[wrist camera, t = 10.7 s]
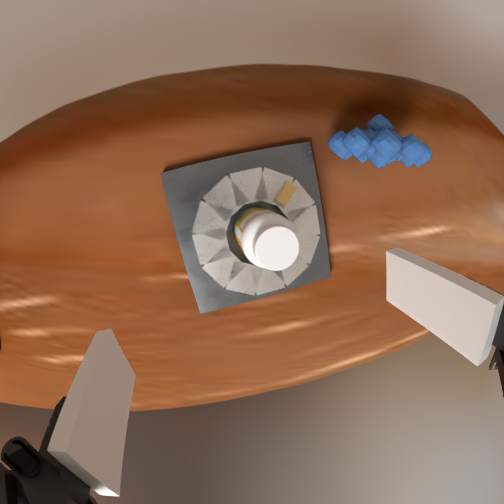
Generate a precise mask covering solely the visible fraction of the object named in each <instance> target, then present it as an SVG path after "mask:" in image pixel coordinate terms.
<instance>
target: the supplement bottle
mask: <svg viewBox="0 0 504 504" xmlns="http://www.w3.org/2000/svg"><path fill="white" fill-rule="evenodd" d="M234 234H235V237H236V240H237V242H238V243H239V245H240V247H241V249H242V250H243V252H244V254H245V256H246V257H247V258H248V259H249V261H251V262H252V263H253V264H254V265H256V266H258V267H262V268H266V269H269V270H273V271H279V270H283V269H285V268H287V267H289V266H290V265H291V264H292V263H293V262H294V261H295V260H296V258H297V256H298V253H299V241H298V238H297V235H296V231H295V229H294V227H293V225H292V224H291V222H290V221H289V220H288V219H286V218H285V217H283V216H281V215H279V214H277V213H275V212H273V211H271V210H268V209H266V208H263V207H251V208H248V209H246V210H245V211H243V212H242V213H241V214H240V215H239V216H238V218H237V220H236V222H235V226H234Z"/></svg>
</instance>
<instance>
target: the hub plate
mask: <svg viewBox="0 0 504 504" xmlns="http://www.w3.org/2000/svg"><path fill="white" fill-rule="evenodd" d="M161 178H162V182H163V186H164V190H165V194H166V198H167V202H168V206H169V210H170V214H171V217H172V221H173V225H174V228H175V232H176V236H177V239H178V243H179V246H180V250H181V253H182V257H183V260H184V263H185V267H186V270H187V273H188V276H189V280H190V283H191V286H192V289H193V292H194V295H195V298H196V301H197V304H198V307H199V310H200V313H201V314H203V313H207V312H210V311H214V310H218V309H222V308H226V307H230V306H233V305H237V304H241V303H245V302H248V301H252V300H255V299H259V298H263V297H266V296H270V295H273V294H277V293H280V292H283V291H287V290H290V289H294V288H297V287H300V286H304V285H307V284H310V283H314V282H317V281H320V280H323V279H326V278H330V277H331V271H330V263H329V254H328V246H327V239H326V231H325V224H324V217H323V211H322V204H321V198H320V192H319V186H318V181H317V175H316V170H315V164H314V159H313V154H312V149H311V144H310V142H304V143H297V144H291V145H284V146H278V147H272V148H267V149H261V150H256V151H251V152H246V153H241V154H236V155H231V156H227V157H222V158H218V159H213V160H209V161H205V162H201V163H197V164H193V165H189V166H185V167H181V168H178V169H174V170H170V171H167V172H163V173H161ZM251 207H263V208H266V209H268V210H271V211H273V212H275V213H277V214H279V215H281V216H283V217H285V218H286V219H288V220H289V221H290V222H291V224H292V225H293V227H294V229H295V231H296V235H297V238H298V241H299V253H298V256H297V258H296V260H295V261H294V262H293V263H292V264H291V265H290V266H289V267H287V268H285V269H283V270H279V271H273V270H269V269H266V268H262V267H258V266H256V265H254V264H253V263H252V262H251V261H249V259H248V258H247V257H246V256H245V254H244V252H243V250H242V249H241V247H240V245H239V243H238V242H237V240H236V237H235V234H234V226H235V222H236V220H237V218H238V216H239V215H240V214H241V213H242V212H243V211H245V210H246V209H248V208H251Z"/></svg>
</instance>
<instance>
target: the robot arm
mask: <svg viewBox="0 0 504 504" xmlns="http://www.w3.org/2000/svg"><path fill="white" fill-rule="evenodd" d="M386 263H387V299H386V300H387V301H388V302H390V303H391V304H393V305H394V306H396V307H397V308H398V309H400V310H401V311H403V312H404V313H406V314H407V315H408V316H410V317H411V318H413V319H414V320H415V321H417V322H418V323H420V324H421V325H422V326H424V327H425V328H427V329H428V330H429V331H431V332H432V333H433V334H435V335H436V336H438V337H439V338H440V339H442V340H443V341H445V342H446V343H447V344H449V345H450V346H451V347H453V348H454V349H455V350H457V351H458V352H459V353H461V354H462V355H463V356H465V357H466V358H467V359H469V360H470V361H471V362H473V363H474V364H475V365H477V366H478V365H480V364H481V363H482V362H483V361H484V360H485V359H486V358H487V357H488V355H489V352H490V349H491V346H492V345H494V346H495V347H496V350H495V352H494V355H493V358H492V360H491V363H490V366H489V370H492V367H493V365H494V362H496V366H495V369H498V371H499V376H500V380H501V385H502V390H503V396H504V295H503V294H501V293H499V292H497V291H495V290H493V289H491V288H489V287H487V286H484V285H483V284H481V283H477V282H476V281H474V280H472V279H470V278H467V277H464V276H462V275H460V274H458V273H455V272H453V271H451V270H449V269H447V268H444V267H442V266H440V265H438V264H435V263H433V262H431V261H429V260H426V259H424V258H422V257H419V256H417V255H415V254H412V253H410V252H407V251H405V250H403V249H400V248H398V247H397V248H394V249H391V250H388V251H386ZM0 349H1V344H0ZM135 377H136V375H135V374H134V372H133V370H132V368H131V367H130V365H129V363H128V361H127V359H126V357H125V355H124V354H123V352H122V350H121V348H120V346H119V344H118V342H117V340H116V338H115V336H114V334H113V332H112V330H111V329H107V330H102V331H97V332H96V334H95V336H94V338H93V340H92V342H91V344H90V346H89V348H88V350H87V352H86V354H85V357H84V359H83V361H82V363H81V365H80V367H79V369H78V372H77V374H76V376H75V378H74V381H73V383H72V385H71V388H70V390H69V392H68V395H67V396H66V397H63V398H62V399H61V400H60V402H59V403H58V404H57V405H56V407H55V409H54V412H53V415H52V418H51V419H50V422H49V426H48V427H47V430H46V433H45V435H44V438H43V441H42V444H41V447H40V449H39V452H38V451H37V450H36V449H35V448H33V446H32V445H31V444H30V443H29V442H28V441H27V440H26V439H24V438H22V437H14V438H12V439H10V440H9V441H8V442H7V443H6V444H5V445H4V447H3V449H2V452H1V460H2V461H3V462H4V463H5V464H6V465H7V466H8V467H9V468H10V469H12V470H8V469H7V468H6V467H5V466H4V465H3V464H2V463H0V504H97V502H96V500H95V499H94V498H93V497H92V496H90V495H89V494H90V488H92V489H93V490H94V491H96V492H97V493H98V494H100V495H107V496H120V482H121V471H122V461H123V451H124V444H125V436H126V429H127V422H128V416H129V410H130V404H131V398H132V392H133V387H134V382H135Z"/></svg>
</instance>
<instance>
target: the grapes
mask: <svg viewBox="0 0 504 504" xmlns="http://www.w3.org/2000/svg"><path fill="white" fill-rule="evenodd" d="M366 126H367V130H365V131H364V130H363V129H362V130H361V129H359V128H358V127H356V128H355V129H353V130H351V131H350V132H348V133H345V132H344V131H342V130H341V131H339V132H337V133H336V134H334V135H333V136H332V137H330V138H329V140H328V146H329V148H330V149H331V150H332V151H333V152H334V153H335V154H336V155H338V156H339V157H340V158H342V159H343V160H346V159H348V158H349V157H351V156H352V155H353V156H355V157H356V158H357V159H358V160H359V161H360V162H361V163H363V162H365V161H367V160H368V159H369V160H370V161H371V162H372V163H373V164H374V165H375V166H376V167H378V168H379V169H380V168H381V167H383V166H385V165H386V166H387V165H389V164H390V163H392V162H394V161H396V160H397V161H399V160H400V161H401V162H402V163H403V164H404V165H405V166H406V167H407V168H408V167H410V166H412V165H413V164H415V165H416V166H418V167H420V166H422V165H424V164H425V163H427V162H428V161H429V160H430V159H431V157H432V152H431V150H430V149H429V147H428V146H427V145H426V144H425V143H423V142H422V141H421V140H420V139H418V138H417V137H416V136H414V135H413V134H410V135H408V136H406V137H405V138H403V137H402V136H401V135H400V134H398V133H396V132H395V131H393V126H392V123H391V122H390V121H389V120H388V119H386V118H385V117H384V116H382V115H381V114H378V115H376V116H375V117H373V118H372V119H370V120H369V121H368V123H367V124H366ZM392 131H393V132H392Z"/></svg>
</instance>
